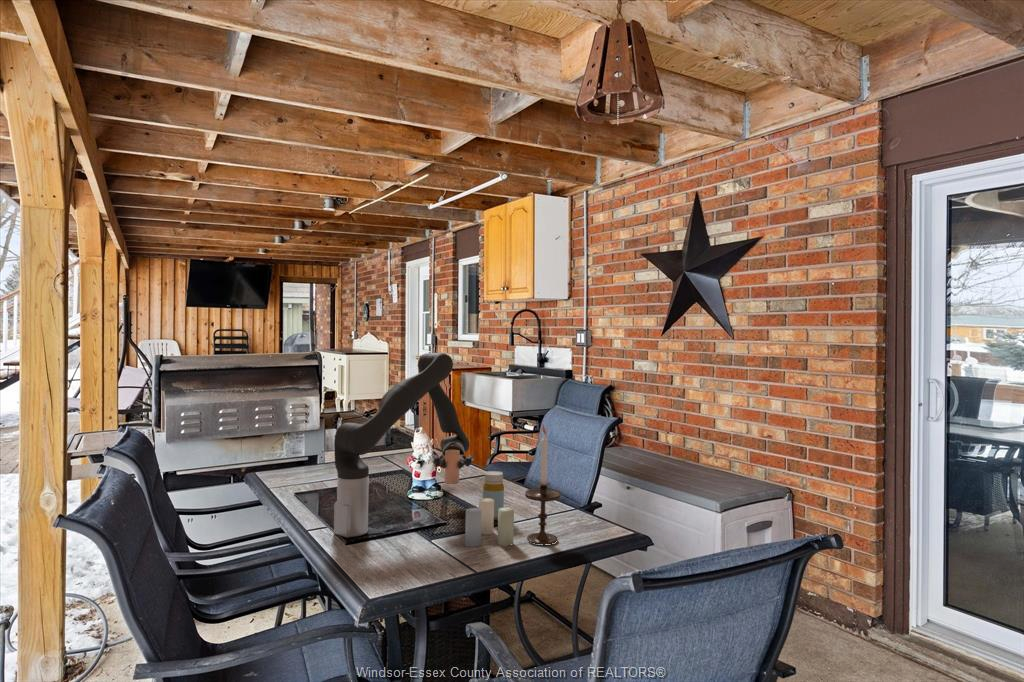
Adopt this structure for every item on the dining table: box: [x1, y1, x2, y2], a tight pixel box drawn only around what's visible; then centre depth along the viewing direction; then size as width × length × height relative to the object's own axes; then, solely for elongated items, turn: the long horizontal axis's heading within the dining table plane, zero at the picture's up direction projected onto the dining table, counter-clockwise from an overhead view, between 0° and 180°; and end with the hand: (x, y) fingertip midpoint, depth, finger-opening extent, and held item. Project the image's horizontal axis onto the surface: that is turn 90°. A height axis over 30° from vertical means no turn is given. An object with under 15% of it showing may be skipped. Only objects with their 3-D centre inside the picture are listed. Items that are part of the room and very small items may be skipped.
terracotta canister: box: [444, 450, 460, 485], centre depth 196 cm, size 5×5×10 cm
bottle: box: [482, 470, 505, 521], centre depth 205 cm, size 7×7×15 cm
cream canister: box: [478, 497, 495, 536], centre depth 190 cm, size 5×5×10 cm
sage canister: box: [497, 507, 515, 547], centre depth 181 cm, size 5×5×10 cm
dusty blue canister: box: [464, 507, 482, 548], centre depth 180 cm, size 5×5×10 cm
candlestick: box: [524, 425, 563, 545], centre depth 184 cm, size 11×11×35 cm
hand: (452, 465), depth 193 cm, fingers closed on terracotta canister, 4 cm apart
